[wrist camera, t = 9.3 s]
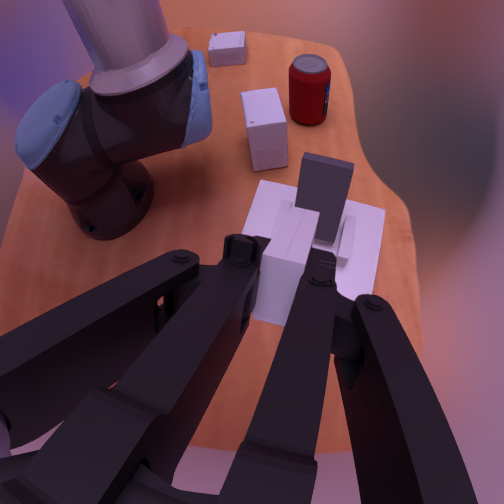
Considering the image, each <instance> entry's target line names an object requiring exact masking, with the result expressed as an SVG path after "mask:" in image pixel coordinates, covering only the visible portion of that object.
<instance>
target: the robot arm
mask: <svg viewBox="0 0 504 504" xmlns="http://www.w3.org/2000/svg"><path fill="white" fill-rule="evenodd" d="M62 2H63V4H64V6H65V8H66V10H67V12H68V14H69V16H70V18H71V20H72V22H73V25H74V26H75V29H76V31H77V33H78V35H79V36H80V38H81V40H82V42H83V44H84V46H85V48H86V50H87V52H88V54H89V56H90V58H91V60H92V62H93V64H94V66H95V68H94V70H93V72H92V75H91V77H90V81H89V84H90V86H89V87H87V88H84V89H81V88H82V87H81V85H80V84H79V83H77V82H76V81H74V80H64V81H62V82H59V83H57V84H56V85H54V86H53V87H51V88H50V89H48V90H47V91H46V92H45V93H43V94H42V95H41V96H40V97H39V98H38V99H37V100H36V101H35V102H34V103H33V105H32V106H31V107H30V109H29V110H28V111H27V112H26V114H25V115H24V117H23V119H22V121H21V122H20V124H19V126H18V129H17V131H16V135H15V140H14V147H15V151H16V153H17V154H18V156H19V157H20V158H21V159H22V161H23V162H24V163H25V164H26V167H27V168H28V169H29V170H31V171H32V172H33V173H34V174H35V175H36V176H37V177H38V178H39V179H40V180H42V181H43V182H44V183H45V184H46V185H47V186H48V187H49V188H51V189H52V190H53V191H54V192H55V193H56V194H57V195H58V196H60V197H61V198H62V199H63V200H64V201H65V202H66V203H67V205H68V207H69V210H70V212H71V214H72V216H73V218H74V221H75V223H76V224H77V226H78V227H79V228H80V229H81V230H82V231H83V232H85V233H86V234H87V235H88V236H90V237H92V238H94V239H98V240H109V239H114V238H117V237H119V236H121V235H123V234H125V233H127V232H128V231H130V230H131V229H132V228H133V227H135V226H136V225H137V224H138V223H139V222H140V220H141V219H142V218H143V217H144V215H145V214H146V212H147V210H148V208H149V206H150V204H151V201H152V197H153V182H152V178H151V176H150V174H149V173H148V171H147V170H146V168H145V167H144V165H143V164H142V163H141V162H139V161H138V160H139V159H142V158H146V157H149V156H153V155H156V154H160V153H163V152H167V151H171V150H175V149H178V148H180V149H181V148H184V147H185V146H186V145H189V144H192V143H196V142H199V141H202V140H204V139H205V138H206V137H208V136H209V135H210V133H211V131H212V112H211V102H210V94H209V88H208V77H207V69H206V63H205V57H204V54H203V52H202V51H200V50H191V51H189V48H188V45H187V42H186V41H185V39H184V38H182V37H180V36H178V35H175V34H172V33H169V31H168V28H167V25H166V22H165V19H164V15H163V12H162V9H161V6H160V3H159V0H62ZM319 214H320V212H316V211H312V210H307V209H303V208H298V207H293V206H292V207H291V209H290V210H289V212H288V214H287V215H286V217H285V218H284V220H283V222H282V223H281V225H280V227H279V228H278V230H277V231H276V233H275V235H274V236H273V238H272V239H270V238H266V237H261V236H257V235H256V236H250V235H245V234H232V235H228V236H226V237H225V241H224V250H223V258H222V260H221V261H220V262H219V263H218V264H217V265H200V264H199V260H200V258H199V256H198V255H197V254H195V253H194V252H191V251H188V250H183V249H179V250H173V251H170V252H167V253H165V254H163V255H161V256H159V257H157V258H154V259H152V260H150V261H148V262H146V263H144V264H142V265H140V266H138V267H136V268H134V269H132V270H129V271H127V272H125V273H123V274H121V275H119V276H117V277H115V278H113V279H111V280H109V281H107V282H105V283H103V284H101V285H99V286H97V287H95V288H93V289H91V290H89V291H87V292H85V293H83V294H81V295H79V296H77V297H75V298H73V299H71V300H69V301H67V302H65V303H63V304H61V305H59V306H57V307H55V308H54V309H52V310H50V311H48V312H46V313H44V314H42V315H40V316H38V317H36V318H34V319H32V320H31V321H29V322H27V323H25V324H23V325H21V326H19V327H17V328H16V329H14V330H12V331H10V332H8V333H6V334H4V335H3V336H1V337H0V504H310V503H311V499H312V494H313V489H314V485H315V479H316V474H317V467H318V466H317V461H315V460H314V454H315V448H316V443H317V437H318V432H319V426H320V420H321V414H322V408H323V402H324V396H325V389H326V382H327V375H328V368H329V360H330V353H332V354H334V355H335V356H334V364H335V368H336V373H337V377H338V382H339V386H340V391H341V396H342V400H343V405H344V410H345V415H346V420H347V425H348V430H349V435H350V441H351V446H352V451H353V456H354V462H355V468H356V474H357V479H358V485H359V492H360V498H361V504H478V502H477V499H476V496H475V493H474V490H473V487H472V484H471V481H470V478H469V475H468V473H467V470H466V467H465V464H464V462H463V459H462V456H461V454H460V451H459V448H458V446H457V443H456V441H455V438H454V436H453V434H452V431H451V429H450V426H449V424H448V421H447V419H446V417H445V414H444V412H443V410H442V408H441V405H440V403H439V401H438V399H437V396H436V394H435V392H434V390H433V388H432V386H431V383H430V381H429V379H428V377H427V375H426V373H425V371H424V369H423V367H422V365H421V363H420V361H419V358H418V356H417V354H416V352H415V351H414V349H413V347H412V345H411V343H410V341H409V339H408V337H407V335H406V333H405V331H404V329H403V327H402V325H401V324H400V322H399V320H398V318H397V316H396V314H395V312H394V311H393V309H392V307H391V305H390V304H389V303H388V302H387V301H385V300H384V299H383V298H381V297H378V296H377V295H371V294H361V295H358V296H357V297H356V299H355V301H353V300H351V299H348V298H346V297H344V296H343V295H341V294H340V293H339V292H338V291H337V284H336V282H335V275H336V262H337V258H336V256H335V255H334V253H333V252H329V251H325V250H321V249H317V248H313V247H312V246H313V241H314V237H315V232H316V228H317V223H318V218H319ZM162 296H163V304H161V305H160V306H158V305H157V301H158V300H159V299H160V298H161V297H162ZM253 308H254V309H253ZM252 310H253V315H252V318H253V319H257V320H261V321H265V322H268V323H272V324H276V325H280V326H284V330H283V333H282V336H281V339H280V342H279V345H278V348H277V351H276V354H275V357H274V359H273V362H272V365H271V368H270V371H269V374H268V377H267V379H266V382H265V385H264V388H263V391H262V393H261V396H260V399H259V402H258V404H257V407H256V410H255V412H254V415H253V418H252V420H251V423H250V426H249V428H248V431H247V433H246V436H245V438H244V441H243V442H242V443H241V444H240V446H239V448H238V451H237V453H236V455H235V458H234V460H233V463H232V465H231V468H230V470H229V473H228V475H227V477H226V480H225V482H224V485H223V487H222V489H221V491H220V494H219V495H212V494H203V493H195V492H189V491H182V490H178V489H176V488H174V487H172V486H171V484H172V480H173V476H174V472H175V469H176V467H177V465H178V463H179V461H180V459H181V457H182V456H183V453H184V452H185V450H186V448H187V446H188V444H189V442H190V440H191V438H192V437H193V435H194V433H195V431H196V429H197V427H198V425H199V423H200V421H201V419H202V417H203V415H204V413H205V411H206V410H207V408H208V406H209V404H210V402H211V400H212V398H213V396H214V394H215V392H216V390H217V388H218V386H219V384H220V382H221V380H222V378H223V376H224V374H225V372H226V370H227V368H228V366H229V364H230V362H231V360H232V358H233V356H234V354H235V352H236V350H237V348H238V346H239V344H240V342H241V340H242V338H243V336H244V334H245V332H246V330H247V328H248V326H249V320H250V314H251V312H252ZM118 380H119V381H118ZM117 381H118V382H117ZM116 382H117V383H116ZM114 383H116V385H114V386H113V387H112V388H110V389H108V388H109V387H110V386H112V385H113V384H114ZM63 420H64V422H63V423H62V424H61V425H60V426H59V427H58V429H57V430H56V431H55V432H54V433H53V434H52V436H51V437H50V438H49V439H48V440H47V441H46V443H45V444H44V445H43V446H42V447H41V449H40V450H36V451H32V452H28V453H23V454H19V455H14V456H12V454H11V452H10V451H9V450H11V449H14V448H17V447H20V446H23V445H25V444H27V443H29V442H31V441H33V440H35V439H37V438H39V437H40V436H42V435H43V434H45V433H47V432H48V431H50V430H51V429H52V428H54V427H55V426H57V425H58V424H59V423H61V422H62V421H63Z"/></svg>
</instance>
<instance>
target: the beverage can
mask: <svg viewBox="0 0 504 504" xmlns="http://www.w3.org/2000/svg"><path fill="white" fill-rule="evenodd" d="M330 80H331V71H330V68H329V67H328V65H327V62H326V60H325V59H323V58H322V57H320V56H317V55H313V54H303V55H299V56H297V57H296V58H295V59H294V60H293V63H292V64H291V65H290V67H289V110H290V115H291V116H292V118H293V119H295V120H296V121H298V122H300V123H303V124H316V123H319V122H321V121H323V120H324V119H325V117H326V114H327V107H328V99H329V90H330Z"/></svg>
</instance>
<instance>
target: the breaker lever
mask: <svg viewBox="0 0 504 504" xmlns="http://www.w3.org/2000/svg"><path fill="white" fill-rule="evenodd" d="M353 170H354V163H350V162H346V161H342V160H338V159H334V158H329V157H325V156H321V155H316V154H312V153H307V152H305V153H304V155H303V157H302V162H301V168H300V175H299V181H298V188H297V194H296V200H295V206H294V207H298V208H303V209H307V210H312V211H316V212H320V214H319V218H318V223H317V228H316V232H315V237H314V240H316V241H319V242H323V243H327V244H331V245H333V243H334V242H335V239H336V235H337V232H338V228H339V225H340V221H341V217H342V214H343V210H344V206H345V202H346V198H347V194H348V190H349V187H350V183H351V178H352V174H353Z"/></svg>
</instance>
